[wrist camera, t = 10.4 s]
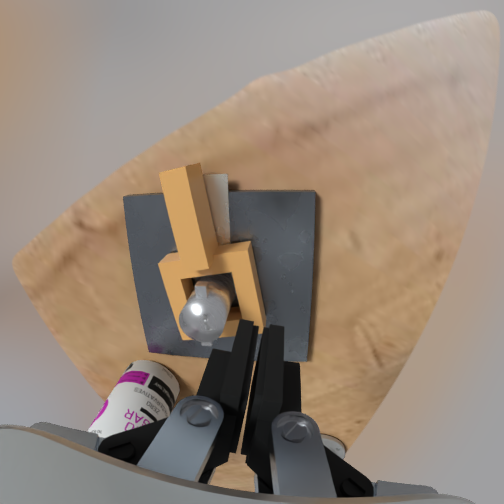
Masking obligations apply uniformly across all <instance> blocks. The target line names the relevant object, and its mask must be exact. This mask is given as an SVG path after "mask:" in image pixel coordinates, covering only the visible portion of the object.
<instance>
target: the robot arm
mask: <svg viewBox="0 0 504 504" xmlns="http://www.w3.org/2000/svg"><path fill="white" fill-rule="evenodd" d="M258 331H259V326H256V325H254V321H250V320H244V319H240V320H239V324H238V328H237V332H236V335H235V339H234V343H233V347H232V351H231V352H230V351H224V350H219V349H214V348H213V349H212V351H211V354H210V357H209V360H208V363H207V366H206V369H205V372H204V375H203V377H202V380H201V383H200V386H199V389H198V392H197V395H196V396H189V397H186V398H184V399H182V400H180V401H179V402H178V404H177V405H176V406H175V408H174V409H173V411H172V412H171V414H170V415H169V417H167V418H164V419H161V420H158V421H155V422H152V423H149V424H146V425H143V426H140V427H136V428H133V429H130V430H127V431H123V432H120V433H117V434H113V435H111V436H108V437H106V438H102V437H99V436H98V434H96V433H91V432H86V431H81V430H76V429H72V428H67V427H63V426H59V425H55V424H51V423H46V422H39V423H35V424H34V425H32V426H31V427H25V426H18V425H0V504H475V503H473V502H472V501H470V500H468V499H465V498H462V497H457V496H452V495H446V494H438V492H437V491H436V490H435V489H433V488H432V487H428V486H422V485H411V484H402V483H393V482H386V481H380V480H378V481H377V482H376V483H373V482H371V481H370V480H369V479H368V478H367V477H366V476H364V475H363V474H362V473H360V472H359V471H357V470H356V469H355V468H353V467H352V466H351V465H349V464H348V463H347V462H345V461H344V460H343V459H344V457H345V448H344V445H343V444H342V443H341V441H339V440H338V439H336V438H334V437H331V436H328V435H324V434H320V430H319V427H318V425H317V423H316V422H315V421H314V420H313V419H312V418H311V417H309V416H308V415H306V414H303V413H301V381H300V364H299V363H295V362H288V361H284V326H279V325H273V324H270V326H269V328H267V327H264V328H263V332H262V337H261V342H260V347H259V352H258V356H257V361H256V366H255V371H254V375H253V380H252V385H251V392H250V398H249V405H248V411H247V417H246V424H245V430H244V436H243V443H242V449H241V454H243V455H247V456H246V462H245V463H247V465H248V466H249V467H250V468H251V469H252V470H253V471H254V472H255V475H254V483H255V492H248V491H241V490H235V489H229V488H223V487H218V486H213V485H209V484H210V482H211V479H212V477H213V475H214V473H215V469H216V467H217V466H219V465H221V464H224V463H226V462H228V457H229V452H231V453H236V450H237V446H238V441H239V437H240V432H241V428H242V424H243V419H244V415H245V410H246V406H247V401H248V395H249V389H250V383H251V377H252V370H253V364H254V357H255V351H256V344H257V337H258Z"/></svg>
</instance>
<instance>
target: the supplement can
mask: <svg viewBox="0 0 504 504" xmlns="http://www.w3.org/2000/svg"><path fill="white" fill-rule="evenodd" d="M179 391H180V389H179V383H178V381H177V380H176V378H175V376H174V375H173V374H172V373H171V372H170V371H169V370H168V369H167V368H166V367H164V366H162V365H161V364H159V363H156V362H153V361H148V360H138V361H135V362H132V363H131V364H130V365H129V366H128V367H127V369H126V370H125V372H124V373H123V375H122V377H121V378H120V380H119V381H118V383H117V384H116V386H115V388H114V389H113V391H112V392H111V394H110V395H109V397H108V399H107V400H106V402H105V403H104V405H103V407H102V408H101V410H100V411H99V413H98V415H97V416H96V418H95V419H94V421H93V423H92V424H91V426H90V427H89V429H88V432H91V433H96V434H98V436H99V437H102V438H106V437H108V436H111V435H113V434H117V433H120V432H123V431H127V430H130V429H133V428H136V427H140V426H143V425H146V424H149V423H152V422H155V421H158V420H161V419H164V418H167V417H169V415H170V414H171V411H172V409H173V406H174V404H175V401H176V399H177V396H178V394H179Z"/></svg>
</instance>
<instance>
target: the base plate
mask: <svg viewBox="0 0 504 504" xmlns="http://www.w3.org/2000/svg"><path fill="white" fill-rule="evenodd" d="M203 179H204V184H205V188H206V193H207V198H208V202H209V207H210V211H211V216H212V220H213V225H214V229H215V233H216V238H217V242H218V246H220V245H226V244H233V243H239V242H245V241H251V244H252V249H253V254H254V259H255V264H256V269H257V274H258V279H259V284H260V289H261V294H262V299H263V304H264V309H265V314H266V326H265V327H267V328H269V326H270V324H273V325H279V326H284V361H307V352H308V340H309V327H310V312H311V297H312V279H313V258H314V231H315V191H314V190H228V174H208V175H203ZM123 202H124V211H125V220H126V228H127V236H128V243H129V250H130V257H131V263H132V269H133V275H134V281H135V287H136V292H137V298H138V303H139V308H140V313H141V318H142V323H143V327H144V332H145V337H146V341H147V345H148V350H149V352H152V353H161V354H170V355H180V356H191V357H203V358H209V357H210V354H211V351H212V349H213V348H214V349H219V350H224V351H230V352H231V351H232V347H233V343H234V339H235V336H232V337H221V338H219V337H220V336H221V334H222V332H223V329H224V326H225V323H226V320H227V317H228V314H229V311H230V308H231V307H240V306H239V302H238V298H237V293H236V289H235V285H234V280H233V276H232V272H229V273H222V274H214V275H207V276H200V277H192V278H191V279H192V282H193V286H194V291H193V292H192V294H191V296H190V297H189V299H188V301H187V302H186V304H185V306H184V307H183V309H182V311H181V312H180V315H179V324H180V327H181V329H182V331H183V332H184V333H185V334H186V335H187V336H188V337H189V338H191V339H193V340H182V337H181V334H180V332H179V329H178V326H177V323H176V320H175V317H174V314H173V311H172V308H171V305H170V301H169V298H168V295H167V292H166V289H165V286H164V282H163V279H162V276H161V272H160V269H159V266H158V263H159V262H160V261H161V260H162V259H163V258H164V257H165V256H166V255H167V254H170V253H176V252H178V250H177V246H176V242H175V238H174V234H173V231H172V227H171V223H170V219H169V214H168V210H167V206H166V202H165V198H164V194H163V193H150V194H133V195H126V196H124V197H123ZM261 337H262V334H258V337H257V344H256V351H255V357H254V361H257V356H258V352H259V347H260V342H261Z"/></svg>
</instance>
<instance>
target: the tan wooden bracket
mask: <svg viewBox="0 0 504 504" xmlns="http://www.w3.org/2000/svg"><path fill="white" fill-rule="evenodd" d="M159 176H160V180H161V185H162V189H163V194H164V198H165V202H166V206H167V210H168V214H169V219H170V223H171V227H172V231H173V234H174V238H175V242H176V246H177V250H178V252H176V253H170V254H167V255H166V256H165V257H164V258H163V259H162V260H161V261H160V262H159V263H158V266H159V269H160V272H161V276H162V279H163V282H164V286H165V289H166V292H167V295H168V298H169V301H170V305H171V308H172V311H173V314H174V317H175V320H176V323H177V326H178V329H179V332H180V334H181V337H182V340H193V339H191V338H189V337H188V336H187V335H186V334H185V333H184V332H183V331H182V329H181V327H180V324H179V315H180V312H181V311H182V309H183V307H184V306H185V304H186V302H187V301H188V299H189V297H190V296H191V294H192V292H193V291H194V286H193V282H192V279H191V278H192V277H200V276H207V275H214V274H222V273H229V272H232V276H233V280H234V285H235V289H236V293H237V298H238V302H239V306H240V307H231V308H230V311H229V314H228V317H227V320H226V323H225V326H224V329H223V332H222V334H221V336H220V337H219V338H221V337H232V336H235V335H236V332H237V328H238V324H239V320H240V319H244V320H250V321H254V325H256V326H259V331H258V334H262V332H263V328H264V327H265V326H266V314H265V309H264V304H263V299H262V294H261V289H260V284H259V279H258V274H257V269H256V264H255V259H254V254H253V249H252V244H251V241H245V242H239V243H233V244H226V245H220V246H218V242H217V238H216V233H215V229H214V225H213V220H212V216H211V211H210V207H209V202H208V198H207V193H206V188H205V184H204V179H203V174H202V170H201V165H200V163H197V164H193V165H189V166H184V167H180V168H176V169H172V170H168V171H164V172H160V173H159Z"/></svg>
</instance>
